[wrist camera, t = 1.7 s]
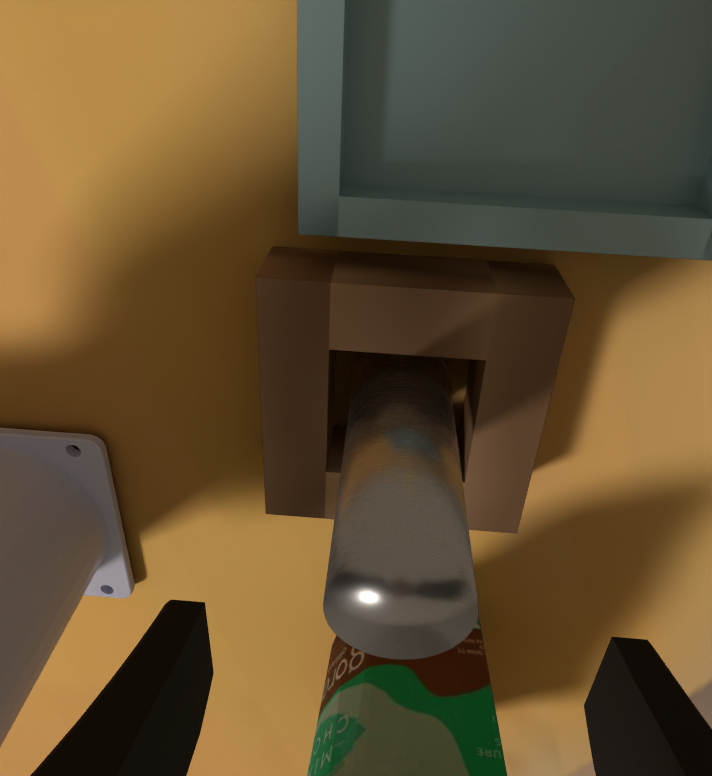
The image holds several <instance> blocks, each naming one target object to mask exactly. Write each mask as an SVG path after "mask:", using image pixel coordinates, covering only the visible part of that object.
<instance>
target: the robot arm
mask: <svg viewBox="0 0 712 776" xmlns="http://www.w3.org/2000/svg"><path fill="white" fill-rule="evenodd" d="M72 445H75V446H77V447H78V448H79V449H80V450H77V449H75V448H74V447H73V446H72ZM134 587H135V584H134V579H133V574H132V570H131V565H130V560H129V555H128V550H127V546H126V541H125V536H124V531H123V526H122V521H121V517H120V512H119V507H118V502H117V497H116V493H115V488H114V483H113V478H112V473H111V468H110V464H109V459H108V454H107V449H106V446H105V444H104V442H103V441H102V440H101V439H100V438H98V437H97V436H94V435H90V434H78V433H64V432H51V431H38V430H24V429H11V428H0V747H1V745H2V743H3V741H4V740H5V738H6V736H7V734H8V732H9V730H10V729H11V727H12V725H13V723H14V721H15V719H16V718H17V716H18V714H19V712H20V710H21V708H22V707H23V705H24V703H25V701H26V699H27V697H28V696H29V694H30V692H31V690H32V688H33V686H34V685H35V683H36V681H37V679H38V677H39V675H40V674H41V672H42V670H43V668H44V666H45V664H46V663H47V661H48V659H49V657H50V655H51V653H52V652H53V650H54V648H55V646H56V644H57V642H58V641H59V639H60V637H61V635H62V633H63V631H64V630H65V628H66V626H67V624H68V622H69V620H70V619H71V617H72V615H73V613H74V611H75V609H76V608H77V606H78V604H79V602H80V600H81V598H82V597H83V595H88V596H100V597H112V598H127V597H129V596H130V595H131V594H132V592H133V590H134ZM212 677H213V665H212V657H211V649H210V641H209V633H208V625H207V617H206V609H205V603H204V602H193V601H181V600H170V601H169V602H167V603H166V604H165V605H164V607H163V608H162V610H161V611H160V613H159V614H158V616H157V617H156V619H155V620H154V622H153V623H152V624H151V626H150V627H149V629H148V630H147V632H146V633H145V634H144V636H143V637H142V639H141V640H140V641H139V643H138V644H137V646H136V647H135V648H134V650H133V651H132V652H131V654H130V655H129V656H128V658H127V659H126V660H125V662H124V663H123V664H122V666H121V667H120V668H119V670H118V671H117V672H116V674H115V675H114V676H113V677H112V679H111V680H110V681H109V683H108V684H107V685H106V686H105V688H104V689H103V690H102V691H101V693H100V694H99V695H98V696H97V698H96V699H95V700H94V701H93V703H92V704H91V705H90V707H89V708H88V709H87V710H86V712H85V713H84V714H83V715H82V716H81V718H80V719H79V720H78V721H77V723H76V724H75V725H74V726H73V727H72V728H71V730H70V731H69V732H68V733H67V734H66V735H65V736H64V738H63V739H62V740H61V741H60V742H59V743H58V745H57V746H56V747H55V748H54V749H53V750H52V752H51V753H50V754H49V755H48V756H47V757H46V758H45V760H44V761H43V762H42V763H41V764H40V765H39V767H38V768H37V769H36V770H35V771H34V772H33V773H32V774H31V776H186V775H187V772H188V768H189V765H190V762H191V759H192V756H193V753H194V750H195V747H196V744H197V741H198V738H199V735H200V731H201V727H202V722H203V718H204V714H205V709H206V705H207V700H208V696H209V691H210V687H211V682H212ZM584 708H585V715H586V721H587V728H588V734H589V741H590V746H591V752H592V758H593V763H594V769H595V772H596V776H712V729H711V728H710V726H709V725H708V723H707V722H706V721H705V720H704V718H703V717H702V715H701V714H700V712H699V711H698V710H697V708H696V707H695V706H694V704H693V703H692V701H691V700H690V699H689V697H688V696H687V694H686V693H685V692H684V690H683V689H682V687H681V686H680V685H679V683H678V682H677V680H676V679H675V677H674V676H673V675H672V673H671V672H670V670H669V669H668V668H667V666H666V665H665V663H664V662H663V660H662V659H661V658H660V656H659V655H658V653H657V652H656V650H655V649H654V648H653V646H652V645H651V644H650V643H649V641H648V640H643V639H631V638H619V637H612V638H611V640H610V643H609V645H608V648H607V650H606V653H605V655H604V657H603V660H602V662H601V665H600V667H599V670H598V672H597V675H596V677H595V680H594V682H593V685H592V687H591V690H590V692H589V695H588V697H587V699H586V702H585V704H584Z"/></svg>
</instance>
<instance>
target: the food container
mask: <svg viewBox="0 0 712 776" xmlns="http://www.w3.org/2000/svg"><path fill="white" fill-rule="evenodd" d="M307 776H507V772H506V766H505V761H504V755H503V750H502V744H501V738H500V733H499V727H498V722H497V716H496V710H495V705H494V699H493V693H492V688H491V682H490V677H489V671H488V665H487V660H486V654H485V649H484V643H483V637H482V632H481V626H480V620H479V615H478V618H477V621H476V624H475V626H474V628H473V630H472V631H471V632H470V634H469V635H468V636H467V637H466V638H465V639H464V640H463V641H462V642H460V643H459V644H458V645H456V646H455V647H453V648H451V649H449V650H447V651H445V652H442V653H440V654H437V655H434V656H430V657H425V658H419V659H405V660H403V659H389V658H383V657H378V656H374V655H371V654H367V653H365V652H362V651H360V650H358V649H356V648H354V647H352V646H350V645H349V644H347V643H346V642H344V641H343V640H342V639H341V638H339V637H338V636H336V638H335V640H334V642H333V645H332V649H331V654H330V660H329V665H328V670H327V675H326V681H325V686H324V691H323V696H322V702H321V707H320V712H319V717H318V723H317V728H316V733H315V738H314V744H313V749H312V754H311V759H310V765H309V770H308V775H307Z"/></svg>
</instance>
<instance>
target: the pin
mask: <svg viewBox="0 0 712 776" xmlns="http://www.w3.org/2000/svg"><path fill="white" fill-rule="evenodd" d="M323 609H324V614H325V618H326V620H327V622H328V624H329V626H330V627H331V629H332V630H333V631H334V633H335V634H336V635H337V636H338V637H339V638H341V639H342V640H343V641H344V642H346V643H347V644H349V645H350V646H352V647H354V648H356V649H358V650H360V651H362V652H365V653H367V654H371V655H374V656H378V657H383V658H389V659H403V660H405V659H419V658H425V657H430V656H434V655H437V654H440V653H442V652H445V651H447V650H449V649H451V648H453V647H455V646H456V645H458V644H459V643H460V642H462V641H463V640H464V639H465V638H466V637H467V636H468V635H469V634H470V632H471V631H472V630H473V628H474V626H475V624H476V621H477V618H478V611H479V610H478V599H477V592H476V584H475V576H474V568H473V560H472V552H471V544H470V536H469V529H468V521H467V513H466V505H465V497H464V489H463V481H462V474H461V466H460V458H459V450H458V442H457V434H456V426H455V419H454V411H453V403H452V395H451V387H450V379H449V371H448V366H447V363H446V361H445V359H444V357H430V356H416V355H401V354H387V353H372V352H362V353H361V355H360V356H359V358H358V360H357V362H356V365H355V370H354V377H353V385H352V392H351V400H350V407H349V415H348V422H347V430H346V437H345V445H344V452H343V459H342V467H341V474H340V482H339V489H338V497H337V504H336V512H335V519H334V527H333V534H332V542H331V549H330V557H329V564H328V572H327V579H326V587H325V594H324V602H323Z"/></svg>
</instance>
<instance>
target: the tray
mask: <svg viewBox="0 0 712 776" xmlns="http://www.w3.org/2000/svg"><path fill="white" fill-rule="evenodd" d="M297 76H298V234H303V235H319V236H334V237H350V238H366V239H382V240H397V241H413V242H429V243H444V244H460V245H476V246H492V247H507V248H523V249H539V250H555V251H570V252H586V253H602V254H617V255H633V256H649V257H665V258H680V259H696V260H712V0H297Z"/></svg>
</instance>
